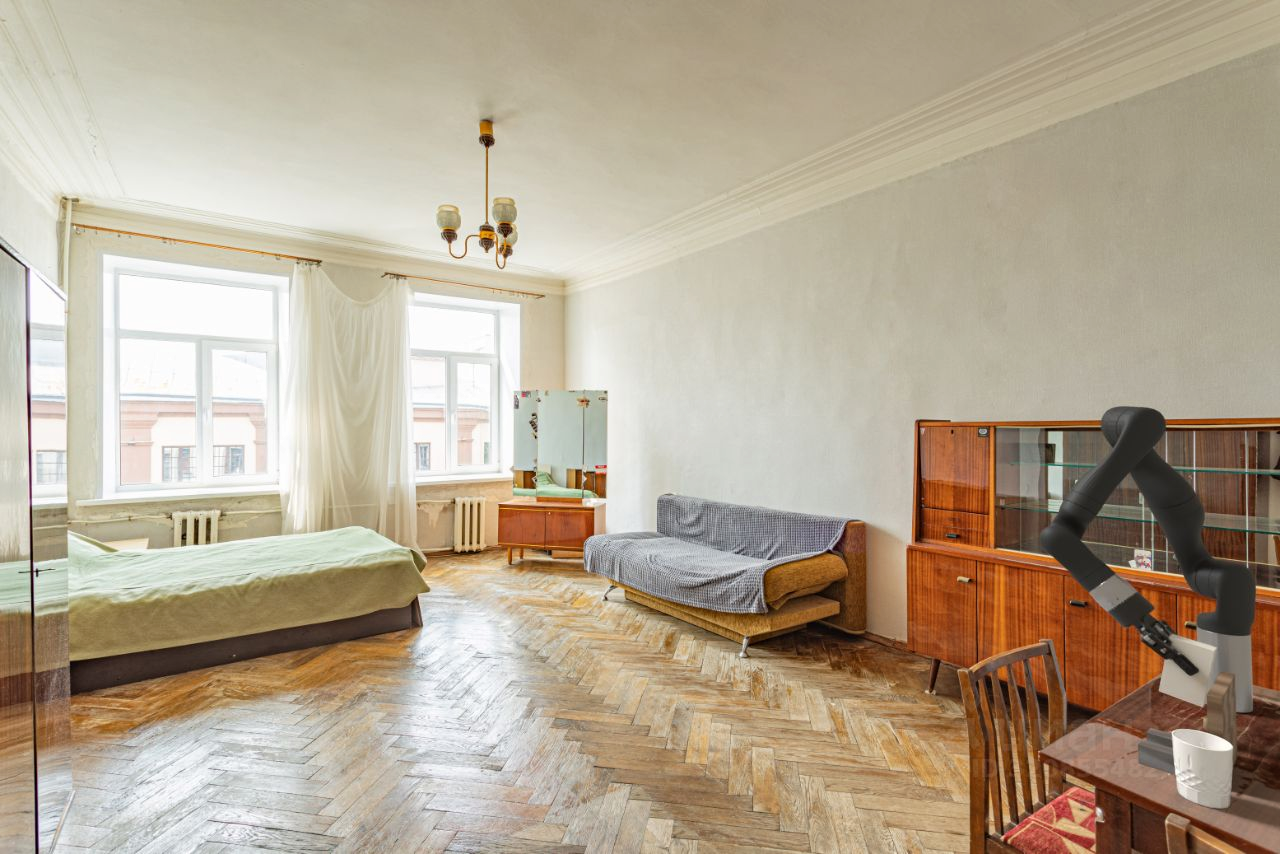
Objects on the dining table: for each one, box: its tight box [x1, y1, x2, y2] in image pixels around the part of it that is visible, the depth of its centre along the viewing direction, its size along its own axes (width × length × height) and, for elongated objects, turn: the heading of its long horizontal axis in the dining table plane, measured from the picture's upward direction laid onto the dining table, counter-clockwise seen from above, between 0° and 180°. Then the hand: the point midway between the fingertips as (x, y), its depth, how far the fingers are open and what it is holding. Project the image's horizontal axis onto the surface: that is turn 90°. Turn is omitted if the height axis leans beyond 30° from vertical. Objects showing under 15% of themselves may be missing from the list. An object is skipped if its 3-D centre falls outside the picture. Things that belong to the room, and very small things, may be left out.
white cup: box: [1171, 728, 1234, 810], centre depth 107 cm, size 8×8×10 cm
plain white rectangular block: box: [1158, 634, 1217, 708], centre depth 127 cm, size 3×7×12 cm, turn 40°
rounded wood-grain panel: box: [1137, 671, 1238, 775], centre depth 119 cm, size 17×12×16 cm
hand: (1196, 671), depth 126 cm, fingers closed on plain white rectangular block, 3 cm apart
